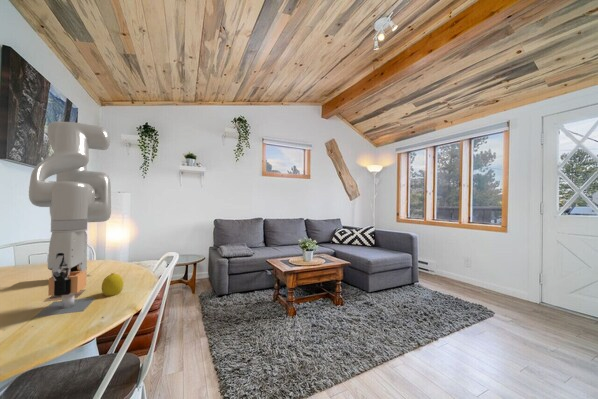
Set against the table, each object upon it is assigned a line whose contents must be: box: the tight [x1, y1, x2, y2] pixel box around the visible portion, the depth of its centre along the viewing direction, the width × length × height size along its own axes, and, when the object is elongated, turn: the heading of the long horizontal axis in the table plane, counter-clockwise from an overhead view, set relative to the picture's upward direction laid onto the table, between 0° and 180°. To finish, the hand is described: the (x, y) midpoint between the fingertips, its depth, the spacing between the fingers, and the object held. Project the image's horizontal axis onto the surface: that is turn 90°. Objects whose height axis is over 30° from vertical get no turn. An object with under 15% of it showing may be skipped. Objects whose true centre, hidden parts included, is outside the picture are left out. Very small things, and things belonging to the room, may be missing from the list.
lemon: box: [101, 272, 124, 297], centre depth 79 cm, size 6×6×8 cm
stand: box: [43, 289, 86, 303], centre depth 77 cm, size 8×8×4 cm
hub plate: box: [33, 293, 97, 318], centre depth 70 cm, size 10×10×6 cm
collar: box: [47, 271, 87, 297], centre depth 70 cm, size 6×6×4 cm
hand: (68, 290), depth 69 cm, fingers closed on collar, 6 cm apart
